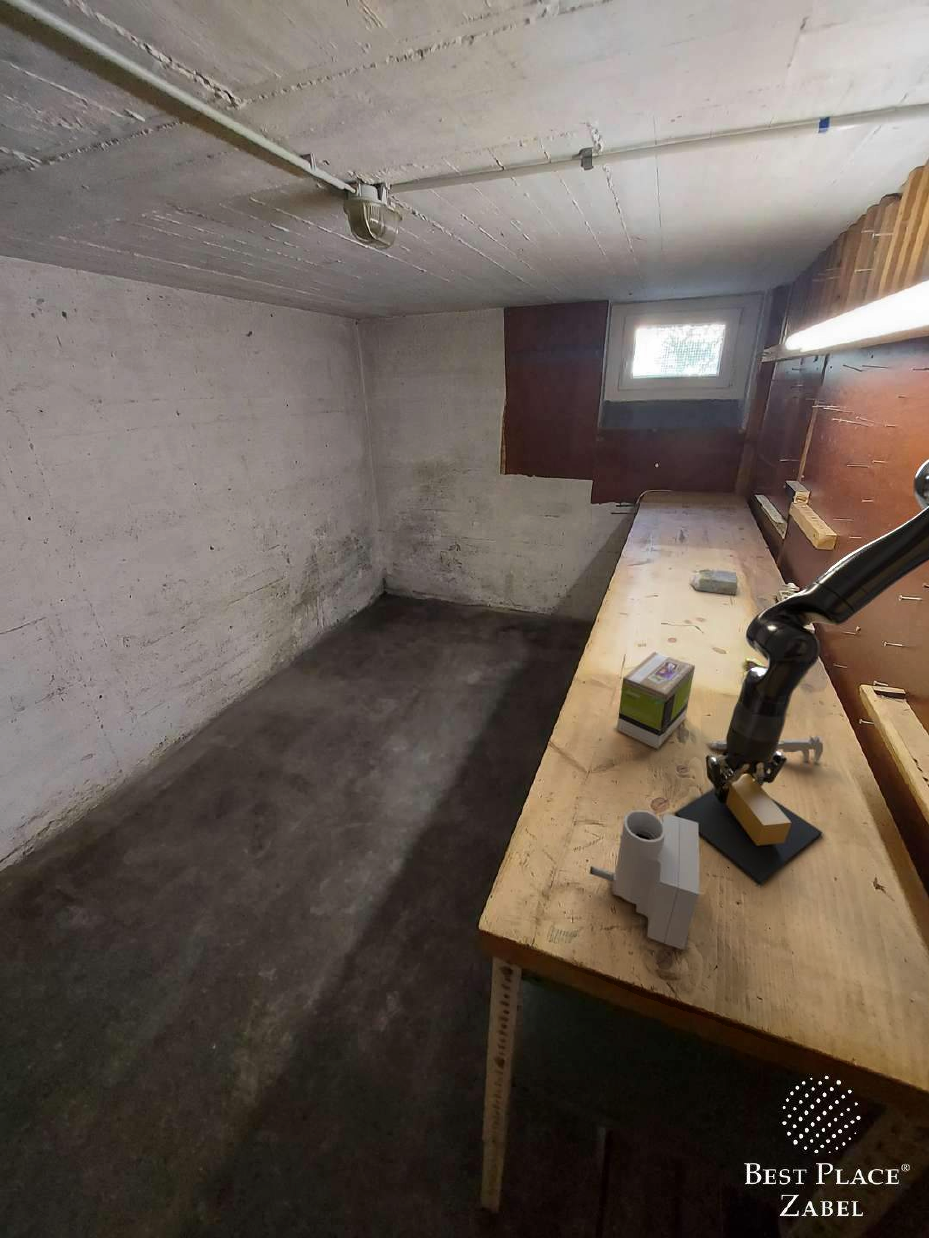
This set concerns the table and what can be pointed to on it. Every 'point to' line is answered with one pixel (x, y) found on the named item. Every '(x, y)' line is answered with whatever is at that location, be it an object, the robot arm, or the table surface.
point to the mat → (746, 836)
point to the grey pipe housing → (658, 873)
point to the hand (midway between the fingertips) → (734, 798)
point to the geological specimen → (715, 581)
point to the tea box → (655, 698)
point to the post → (757, 812)
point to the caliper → (792, 746)
